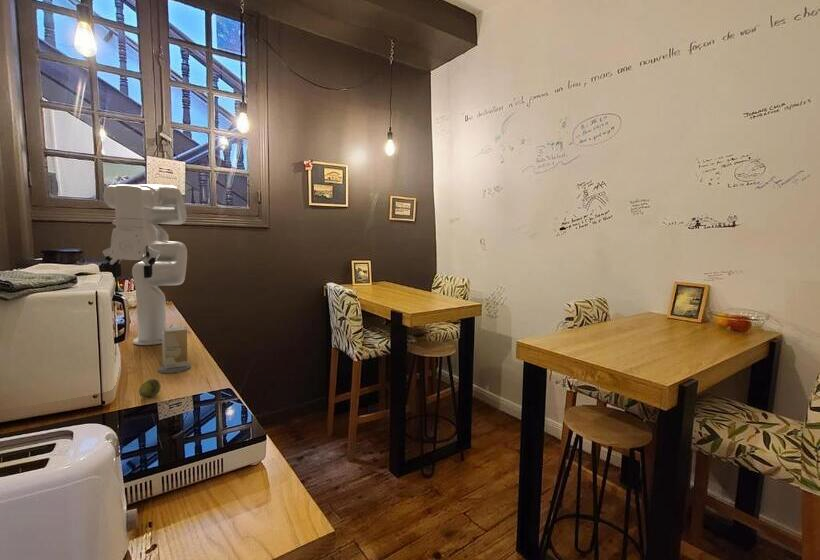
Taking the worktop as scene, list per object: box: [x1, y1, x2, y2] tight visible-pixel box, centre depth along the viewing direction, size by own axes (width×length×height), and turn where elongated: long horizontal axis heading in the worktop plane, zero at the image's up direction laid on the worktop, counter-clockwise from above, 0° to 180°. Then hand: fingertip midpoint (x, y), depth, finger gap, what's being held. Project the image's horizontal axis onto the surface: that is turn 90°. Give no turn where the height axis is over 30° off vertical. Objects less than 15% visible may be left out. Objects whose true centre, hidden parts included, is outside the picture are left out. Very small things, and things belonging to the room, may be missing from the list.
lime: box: [138, 378, 161, 399], centre depth 107 cm, size 4×5×5 cm
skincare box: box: [163, 326, 188, 369], centre depth 128 cm, size 6×4×12 cm
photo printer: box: [161, 323, 181, 365], centre depth 136 cm, size 10×4×12 cm, turn 17°
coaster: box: [157, 362, 192, 375], centre depth 128 cm, size 9×9×1 cm
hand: (132, 277), depth 131 cm, fingers open, 9 cm apart
